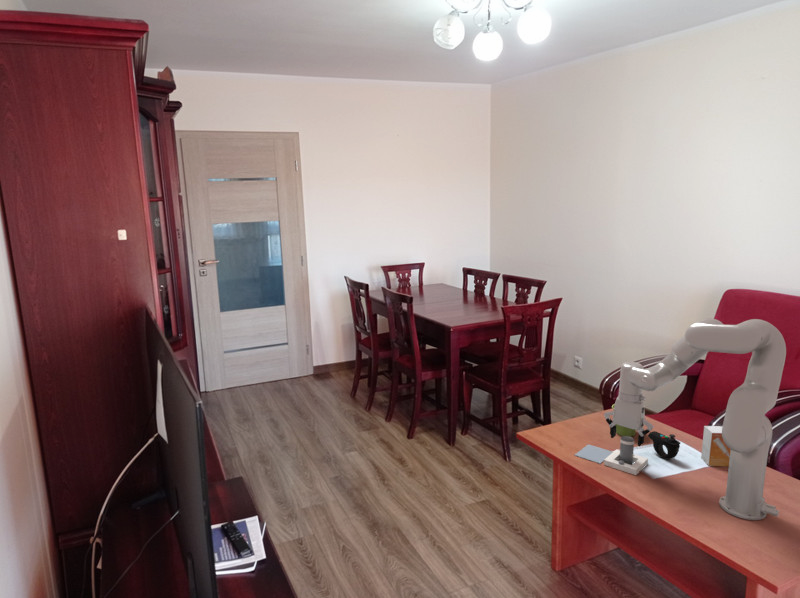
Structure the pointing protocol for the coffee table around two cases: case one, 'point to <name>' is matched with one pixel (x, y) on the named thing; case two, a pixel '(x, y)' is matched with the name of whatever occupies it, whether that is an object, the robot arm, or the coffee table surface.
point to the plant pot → (624, 429)
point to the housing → (620, 465)
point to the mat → (593, 453)
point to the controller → (664, 440)
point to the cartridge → (626, 449)
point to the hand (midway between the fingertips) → (626, 440)
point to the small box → (714, 447)
